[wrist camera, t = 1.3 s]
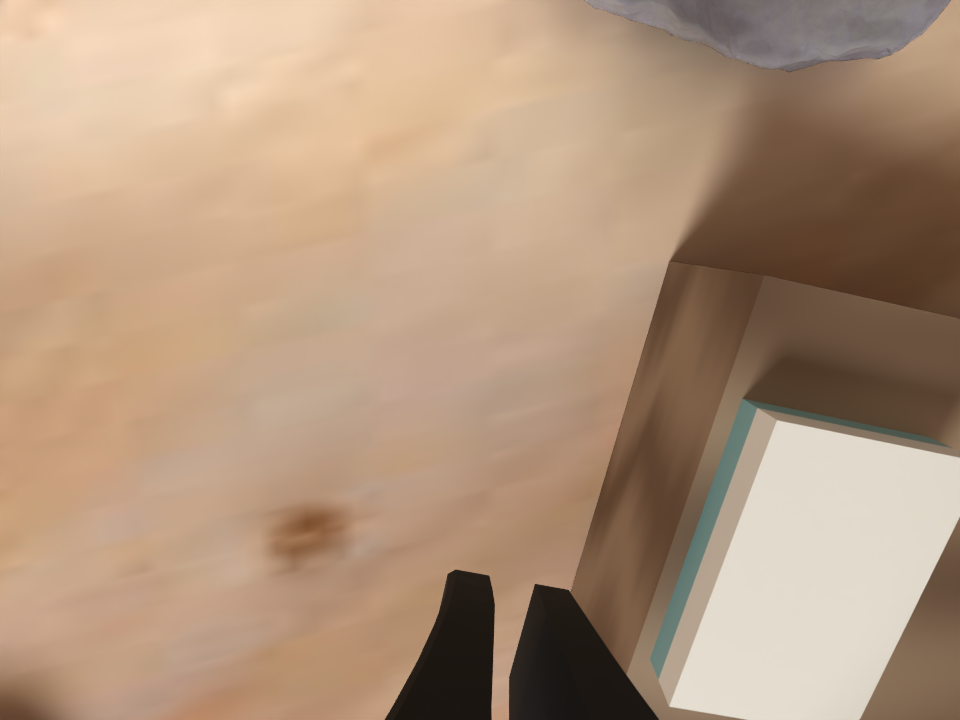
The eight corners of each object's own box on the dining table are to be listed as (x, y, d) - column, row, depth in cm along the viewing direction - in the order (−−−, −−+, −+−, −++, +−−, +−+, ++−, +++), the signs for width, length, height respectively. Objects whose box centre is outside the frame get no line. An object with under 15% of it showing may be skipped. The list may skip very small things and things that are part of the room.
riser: (841, 646, 22) (974, 798, 16) (569, 597, 21) (604, 737, 15) (986, 331, 18) (1222, 376, 13) (669, 261, 18) (764, 274, 12)
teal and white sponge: (814, 687, 15) (851, 737, 13) (649, 659, 14) (668, 706, 13) (928, 437, 13) (986, 463, 11) (742, 398, 13) (777, 420, 11)
